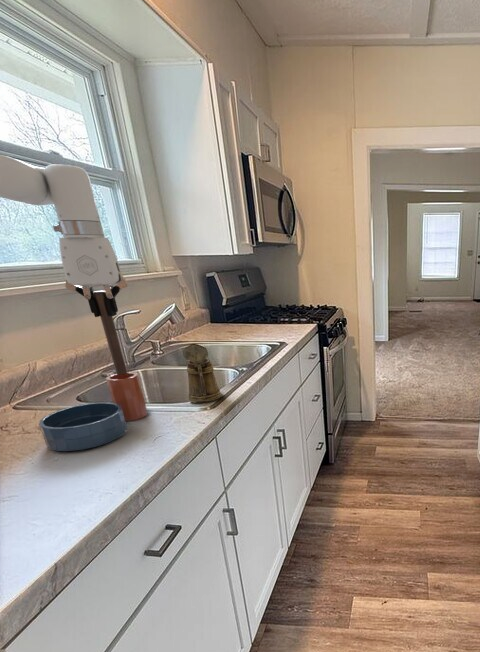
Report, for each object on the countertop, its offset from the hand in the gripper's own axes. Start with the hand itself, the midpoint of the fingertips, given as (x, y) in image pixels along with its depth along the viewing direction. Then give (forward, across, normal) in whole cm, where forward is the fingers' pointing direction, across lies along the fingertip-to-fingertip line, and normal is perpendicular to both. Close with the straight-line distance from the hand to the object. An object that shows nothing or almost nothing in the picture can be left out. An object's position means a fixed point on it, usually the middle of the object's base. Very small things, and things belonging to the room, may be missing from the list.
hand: (106, 315), depth 95 cm
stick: (+15, 0, 0) cm, 15 cm away
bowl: (+26, -6, -12) cm, 29 cm away
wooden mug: (+26, +17, +7) cm, 32 cm away
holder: (+26, 0, 0) cm, 26 cm away
